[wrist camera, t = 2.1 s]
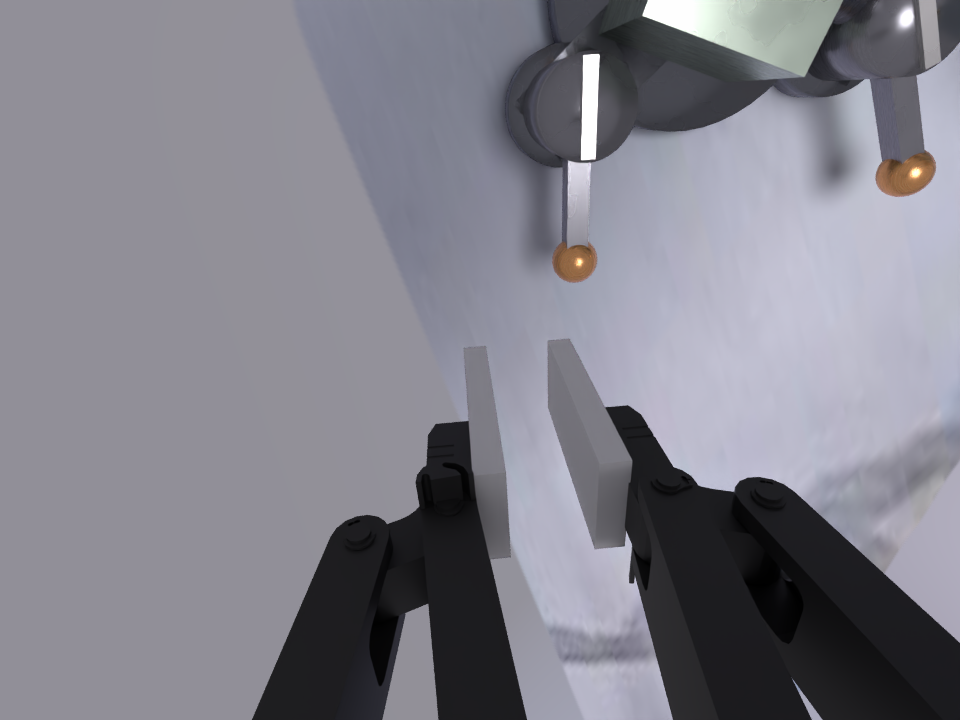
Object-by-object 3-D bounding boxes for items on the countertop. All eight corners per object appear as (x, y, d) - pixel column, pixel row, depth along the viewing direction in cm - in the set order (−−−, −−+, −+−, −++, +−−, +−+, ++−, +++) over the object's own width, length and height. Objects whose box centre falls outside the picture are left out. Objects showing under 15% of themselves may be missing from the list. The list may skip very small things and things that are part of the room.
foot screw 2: (790, 9, 27) (866, -11, 22) (881, -44, 26) (981, -77, 21) (830, 205, 32) (899, 223, 27) (907, 165, 31) (993, 177, 26)
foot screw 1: (521, 62, 27) (538, 53, 22) (609, 55, 27) (644, 45, 22) (527, 269, 33) (541, 299, 28) (600, 263, 33) (626, 292, 28)
